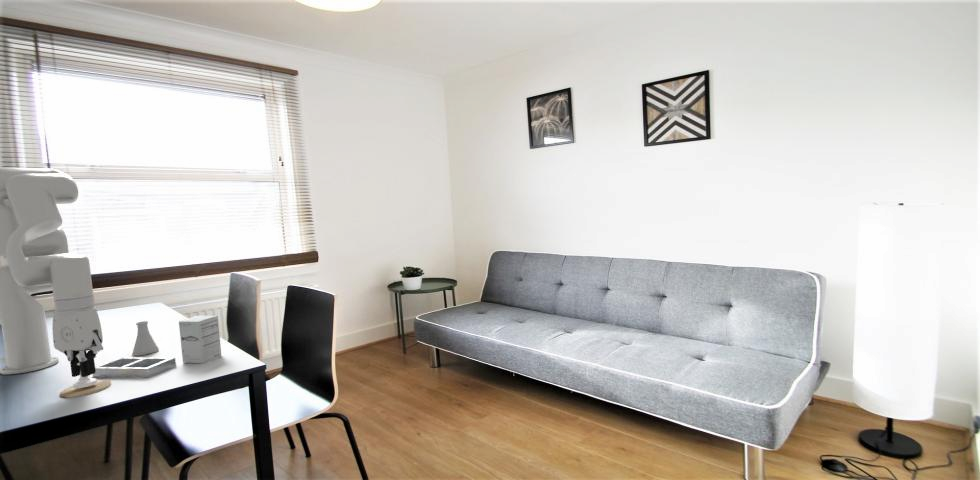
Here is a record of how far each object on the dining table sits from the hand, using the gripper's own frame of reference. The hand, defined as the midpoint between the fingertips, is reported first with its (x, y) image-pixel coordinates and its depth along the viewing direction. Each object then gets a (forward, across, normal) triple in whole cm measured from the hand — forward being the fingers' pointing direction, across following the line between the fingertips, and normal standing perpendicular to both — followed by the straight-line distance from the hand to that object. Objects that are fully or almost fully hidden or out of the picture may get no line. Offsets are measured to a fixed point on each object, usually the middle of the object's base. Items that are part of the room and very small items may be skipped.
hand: (83, 374), depth 121 cm
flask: (+4, -12, +29) cm, 32 cm away
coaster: (+4, 0, 0) cm, 4 cm away
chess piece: (+3, 0, 0) cm, 3 cm away
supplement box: (+4, +14, +23) cm, 27 cm away
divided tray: (+4, +1, +13) cm, 14 cm away
